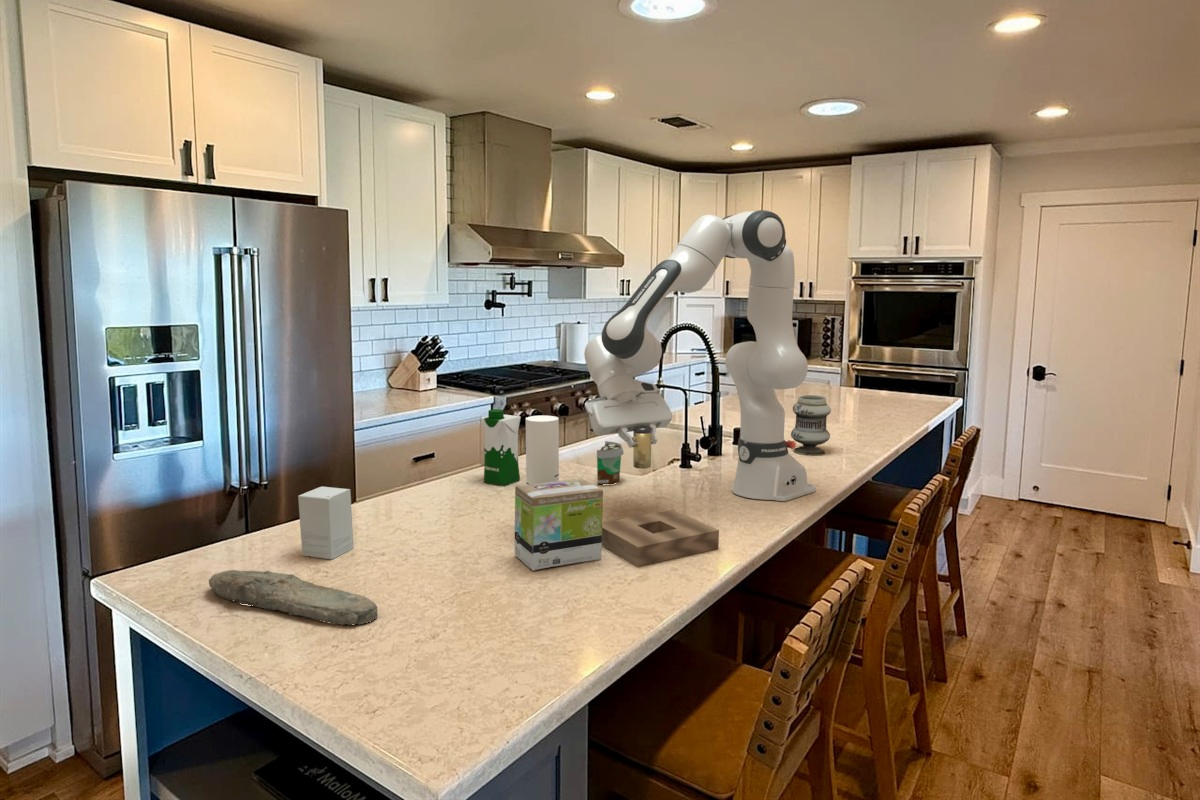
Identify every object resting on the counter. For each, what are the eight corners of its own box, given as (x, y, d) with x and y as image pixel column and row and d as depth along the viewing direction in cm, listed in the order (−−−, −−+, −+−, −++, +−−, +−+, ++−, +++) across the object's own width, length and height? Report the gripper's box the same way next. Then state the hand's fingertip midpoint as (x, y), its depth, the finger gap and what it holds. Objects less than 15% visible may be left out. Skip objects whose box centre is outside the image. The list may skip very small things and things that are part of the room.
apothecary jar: (791, 455, 239) (794, 399, 236) (788, 447, 251) (791, 393, 248) (831, 457, 237) (834, 400, 234) (826, 448, 249) (829, 394, 246)
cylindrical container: (564, 526, 170) (564, 417, 166) (549, 536, 163) (548, 422, 159) (536, 522, 173) (536, 414, 169) (520, 531, 166) (519, 419, 162)
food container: (619, 488, 201) (619, 451, 199) (596, 487, 202) (596, 450, 200) (626, 476, 213) (627, 441, 211) (605, 475, 214) (605, 440, 212)
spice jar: (644, 463, 175) (644, 425, 173) (654, 467, 171) (654, 428, 170) (630, 465, 173) (630, 427, 171) (639, 469, 169) (639, 430, 168)
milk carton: (478, 482, 205) (477, 410, 202) (500, 475, 213) (499, 405, 210) (504, 487, 201) (502, 413, 198) (525, 480, 208) (524, 408, 205)
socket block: (672, 526, 170) (672, 509, 170) (718, 548, 157) (719, 530, 156) (595, 542, 160) (595, 523, 159) (637, 566, 147) (637, 547, 146)
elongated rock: (351, 645, 118) (391, 622, 127) (352, 613, 118) (393, 592, 127) (190, 596, 131) (237, 578, 140) (190, 567, 131) (237, 551, 140)
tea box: (533, 573, 143) (532, 497, 141) (513, 555, 152) (513, 484, 150) (603, 560, 150) (603, 487, 148) (581, 544, 159) (581, 475, 157)
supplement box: (355, 548, 156) (352, 488, 154) (331, 560, 149) (327, 498, 147) (325, 543, 158) (322, 485, 156) (300, 556, 151) (296, 494, 149)
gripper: (586, 391, 170) (609, 442, 163) (661, 384, 180) (685, 431, 173) (577, 408, 174) (599, 458, 168) (650, 399, 185) (674, 446, 178)
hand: (643, 444), depth 171 cm, fingers closed on spice jar, 4 cm apart
